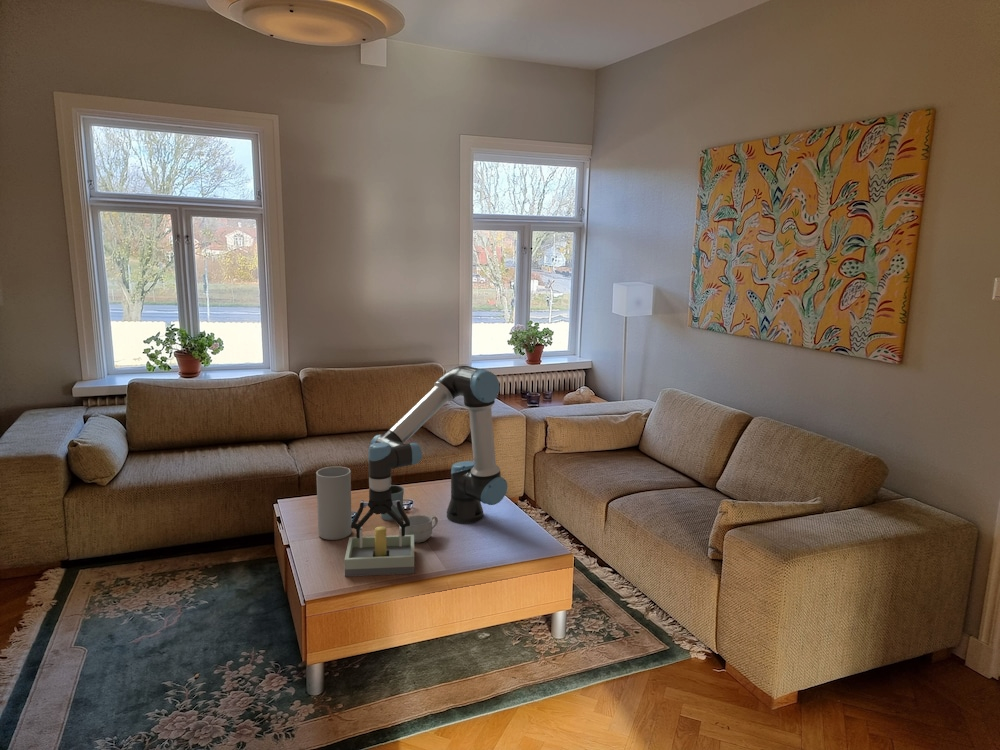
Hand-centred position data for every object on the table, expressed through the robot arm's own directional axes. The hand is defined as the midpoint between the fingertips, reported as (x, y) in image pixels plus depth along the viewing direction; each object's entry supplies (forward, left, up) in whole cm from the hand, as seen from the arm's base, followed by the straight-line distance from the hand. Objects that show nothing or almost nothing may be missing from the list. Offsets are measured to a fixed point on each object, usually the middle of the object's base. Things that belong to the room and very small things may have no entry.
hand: (381, 545), depth 233 cm
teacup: (-15, -18, -6) cm, 24 cm away
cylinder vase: (+18, -25, -6) cm, 31 cm away
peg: (0, 0, -6) cm, 6 cm away
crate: (0, +1, -6) cm, 6 cm away
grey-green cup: (-3, -40, -6) cm, 40 cm away
